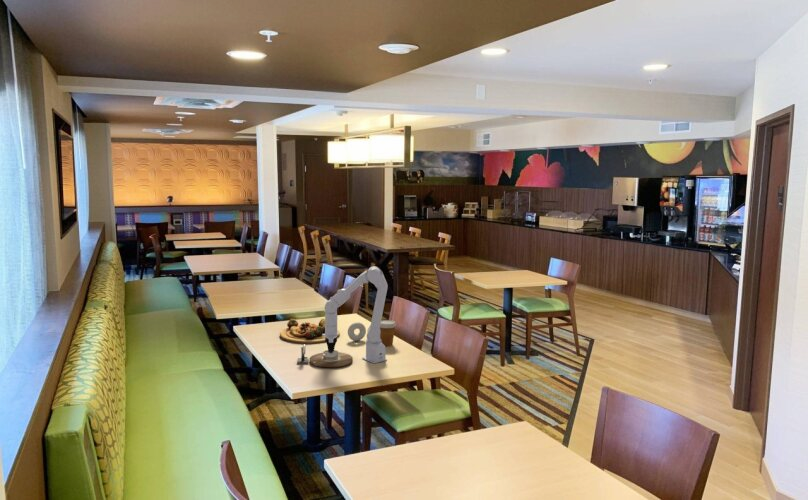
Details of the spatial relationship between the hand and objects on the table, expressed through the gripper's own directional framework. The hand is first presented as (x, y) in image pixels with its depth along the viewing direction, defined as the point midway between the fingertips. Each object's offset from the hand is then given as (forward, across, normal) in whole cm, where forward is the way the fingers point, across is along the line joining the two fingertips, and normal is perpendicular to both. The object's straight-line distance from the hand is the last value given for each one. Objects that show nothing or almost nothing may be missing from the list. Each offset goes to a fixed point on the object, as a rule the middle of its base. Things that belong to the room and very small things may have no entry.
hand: (331, 353), depth 278 cm
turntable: (+3, +5, 0) cm, 5 cm away
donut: (+3, -30, +13) cm, 33 cm away
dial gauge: (+3, +5, -13) cm, 14 cm away
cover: (+1, +5, 0) cm, 5 cm away
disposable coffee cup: (+3, -22, +28) cm, 36 cm away
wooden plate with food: (+3, -41, -12) cm, 43 cm away
